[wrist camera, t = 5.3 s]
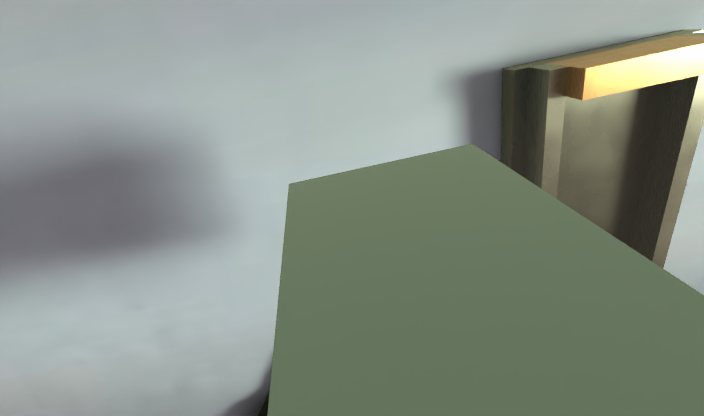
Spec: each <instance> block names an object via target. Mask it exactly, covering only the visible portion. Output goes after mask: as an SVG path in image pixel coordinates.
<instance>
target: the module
mask: <svg viewBox="0 0 704 416" xmlns="http://www.w3.org/2000/svg"><path fill="white" fill-rule="evenodd" d="M267 416H704V295H702V294H701V293H699V292H698V291H696V290H695V289H693V288H692V287H690V286H689V285H687V284H685V283H684V282H682V281H681V280H679V279H678V278H676V277H675V276H673V275H672V274H670V273H669V272H667V271H666V270H664V269H663V268H661V267H660V266H658V265H657V264H655V263H653V262H652V261H650V260H649V259H647V258H646V257H644V256H643V255H641V254H640V253H638V252H637V251H635V250H634V249H632V248H631V247H629V246H628V245H626V244H625V243H623V242H622V241H620V240H618V239H617V238H615V237H614V236H612V235H611V234H609V233H608V232H606V231H605V230H603V229H602V228H600V227H599V226H597V225H596V224H594V223H593V222H591V221H590V220H588V219H586V218H585V217H583V216H582V215H580V214H579V213H577V212H576V211H574V210H573V209H571V208H570V207H568V206H567V205H565V204H564V203H562V202H561V201H559V200H558V199H556V198H555V197H553V196H551V195H550V194H548V193H547V192H545V191H544V190H542V189H541V188H539V187H538V186H536V185H535V184H533V183H532V182H530V181H529V180H527V179H526V178H524V177H523V176H521V175H519V174H518V173H516V172H515V171H513V170H512V169H510V168H509V167H507V166H506V165H504V164H503V163H501V162H500V161H498V160H497V159H495V158H494V157H492V156H491V155H489V154H488V153H486V152H484V151H483V150H481V149H480V148H478V147H477V146H475V145H474V144H469V145H465V146H460V147H456V148H451V149H446V150H442V151H437V152H433V153H428V154H424V155H419V156H414V157H410V158H405V159H401V160H396V161H392V162H387V163H382V164H378V165H373V166H369V167H364V168H360V169H355V170H351V171H346V172H341V173H337V174H332V175H328V176H323V177H319V178H314V179H309V180H305V181H300V182H296V183H291V184H289V190H288V201H287V212H286V222H285V233H284V244H283V254H282V265H281V276H280V287H279V297H278V308H277V319H276V329H275V340H274V351H273V361H272V372H271V383H270V393H269V404H268V415H267Z"/></svg>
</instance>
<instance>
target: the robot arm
mask: <svg viewBox="0 0 704 416" xmlns="http://www.w3.org/2000/svg"><path fill="white" fill-rule="evenodd" d="M269 393H270V389H269V391H268V393H267V395H266V397H265V399H264V401H263V403H262V405H261V407H260V409H259V411H258V413H257V415H256V416H267V415H268V404H269Z"/></svg>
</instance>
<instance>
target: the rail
mask: <svg viewBox="0 0 704 416" xmlns="http://www.w3.org/2000/svg"><path fill="white" fill-rule="evenodd" d="M703 120H704V29H699V30H681V31H677V32H672V33H667V34H662V35H658V36H653V37H648V38H644V39H639V40H634V41H630V42H625V43H620V44H615V45H611V46H606V47H601V48H597V49H592V50H587V51H582V52H578V53H573V54H568V55H564V56H559V57H554V58H549V59H545V60H540V61H535V62H531V63H526V64H521V65H517V66H512V67H507V68H502V146H501V163H503V164H504V165H506V166H507V167H509V168H510V169H512V170H513V171H515V172H516V173H518V174H519V175H521V176H523V177H524V178H526V179H527V180H529V181H530V182H532V183H533V184H535V185H536V186H538V187H539V188H541V189H542V190H544V191H545V192H547V193H548V194H550V195H551V196H553V197H555V198H556V199H558V200H559V201H561V202H562V203H564V204H565V205H567V206H568V207H570V208H571V209H573V210H574V211H576V212H577V213H579V214H580V215H582V216H583V217H585V218H586V219H588V220H590V221H591V222H593V223H594V224H596V225H597V226H599V227H600V228H602V229H603V230H605V231H606V232H608V233H609V234H611V235H612V236H614V237H615V238H617V239H618V240H620V241H622V242H623V243H625V244H626V245H628V246H629V247H631V248H632V249H634V250H635V251H637V252H638V253H640V254H641V255H643V256H644V257H646V258H647V259H649V260H650V261H652V262H653V263H655V264H657V265H658V266H660V267H661V268H663V267H664V263H665V260H666V256H667V252H668V249H669V245H670V241H671V238H672V234H673V230H674V227H675V223H676V219H677V216H678V212H679V208H680V205H681V201H682V197H683V194H684V190H685V186H686V183H687V179H688V175H689V172H690V168H691V164H692V161H693V157H694V153H695V149H696V146H697V142H698V138H699V135H700V131H701V127H702V124H703Z"/></svg>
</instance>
